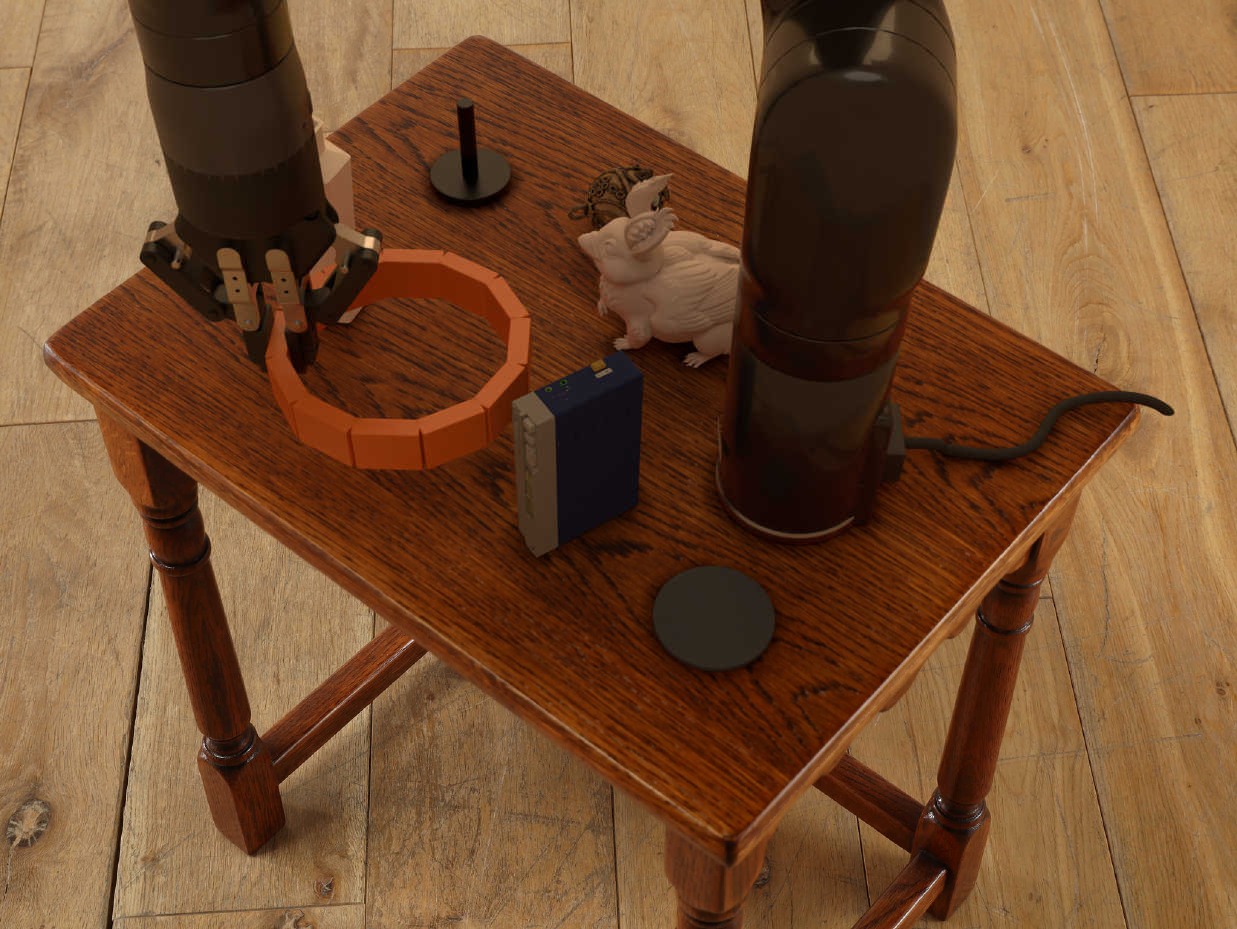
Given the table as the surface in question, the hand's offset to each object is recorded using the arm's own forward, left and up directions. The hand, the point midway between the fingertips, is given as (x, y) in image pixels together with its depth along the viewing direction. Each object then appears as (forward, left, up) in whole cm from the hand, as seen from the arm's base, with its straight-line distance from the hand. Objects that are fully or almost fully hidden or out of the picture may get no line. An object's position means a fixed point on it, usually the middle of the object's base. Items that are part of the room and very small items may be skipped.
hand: (287, 362), depth 86 cm
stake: (-8, -26, -8) cm, 28 cm away
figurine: (-24, -11, -8) cm, 28 cm away
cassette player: (-17, +5, -8) cm, 20 cm away
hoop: (-7, 0, -1) cm, 7 cm away
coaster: (-25, +12, -8) cm, 29 cm away
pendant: (-19, -21, -8) cm, 30 cm away
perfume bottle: (0, -13, -8) cm, 15 cm away
